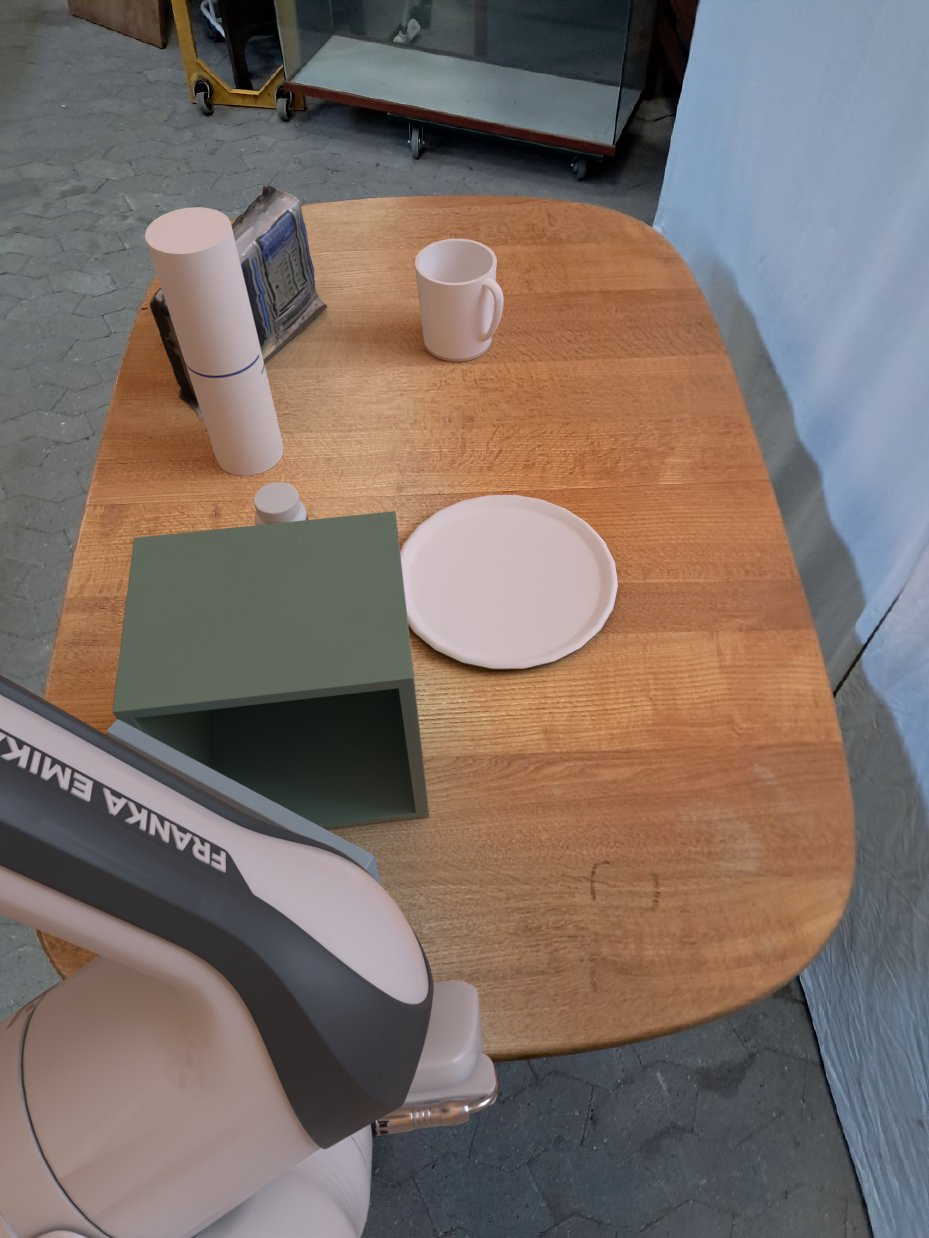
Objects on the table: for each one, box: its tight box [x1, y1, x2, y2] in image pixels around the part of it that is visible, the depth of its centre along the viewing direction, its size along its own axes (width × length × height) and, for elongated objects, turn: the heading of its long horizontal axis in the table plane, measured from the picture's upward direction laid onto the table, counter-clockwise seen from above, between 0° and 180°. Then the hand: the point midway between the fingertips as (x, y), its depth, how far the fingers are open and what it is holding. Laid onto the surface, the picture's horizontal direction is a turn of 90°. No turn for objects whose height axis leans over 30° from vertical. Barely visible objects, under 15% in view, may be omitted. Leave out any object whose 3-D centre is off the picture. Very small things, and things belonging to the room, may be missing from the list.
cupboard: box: [111, 510, 430, 830], centre depth 67 cm, size 14×18×20 cm
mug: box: [414, 238, 505, 363], centre depth 102 cm, size 11×9×10 cm
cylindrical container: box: [144, 206, 285, 477], centre depth 86 cm, size 7×7×25 cm
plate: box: [400, 494, 619, 671], centre depth 84 cm, size 21×21×1 cm
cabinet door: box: [106, 718, 383, 887], centre depth 57 cm, size 6×18×20 cm, turn 62°
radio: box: [149, 185, 328, 422], centre depth 100 cm, size 23×9×15 cm, turn 143°
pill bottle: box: [253, 481, 309, 525], centre depth 84 cm, size 5×5×8 cm
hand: (307, 981), depth 55 cm, fingers closed on cabinet door, 2 cm apart
